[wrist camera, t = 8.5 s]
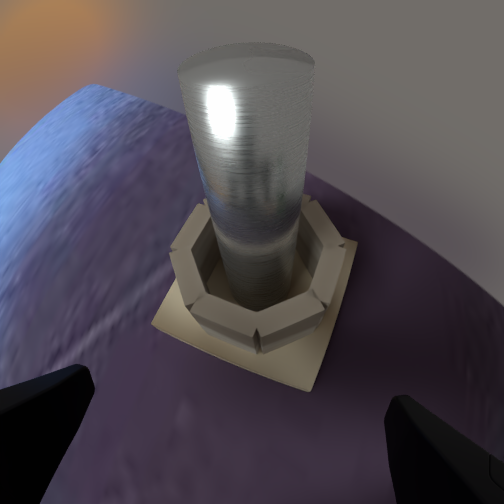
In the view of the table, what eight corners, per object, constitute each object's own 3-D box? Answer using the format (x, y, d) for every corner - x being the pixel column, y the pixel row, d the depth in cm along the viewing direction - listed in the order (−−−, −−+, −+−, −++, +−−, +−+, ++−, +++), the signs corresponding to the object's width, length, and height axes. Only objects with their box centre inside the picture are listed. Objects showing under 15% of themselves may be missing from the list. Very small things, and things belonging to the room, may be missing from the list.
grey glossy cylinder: (257, 323, 16) (235, 102, 5) (217, 281, 18) (154, 69, 7) (302, 284, 17) (341, 63, 6) (261, 247, 19) (251, 36, 8)
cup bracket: (308, 392, 15) (323, 385, 10) (156, 328, 17) (121, 299, 13) (354, 250, 19) (373, 203, 15) (223, 209, 22) (213, 159, 17)
